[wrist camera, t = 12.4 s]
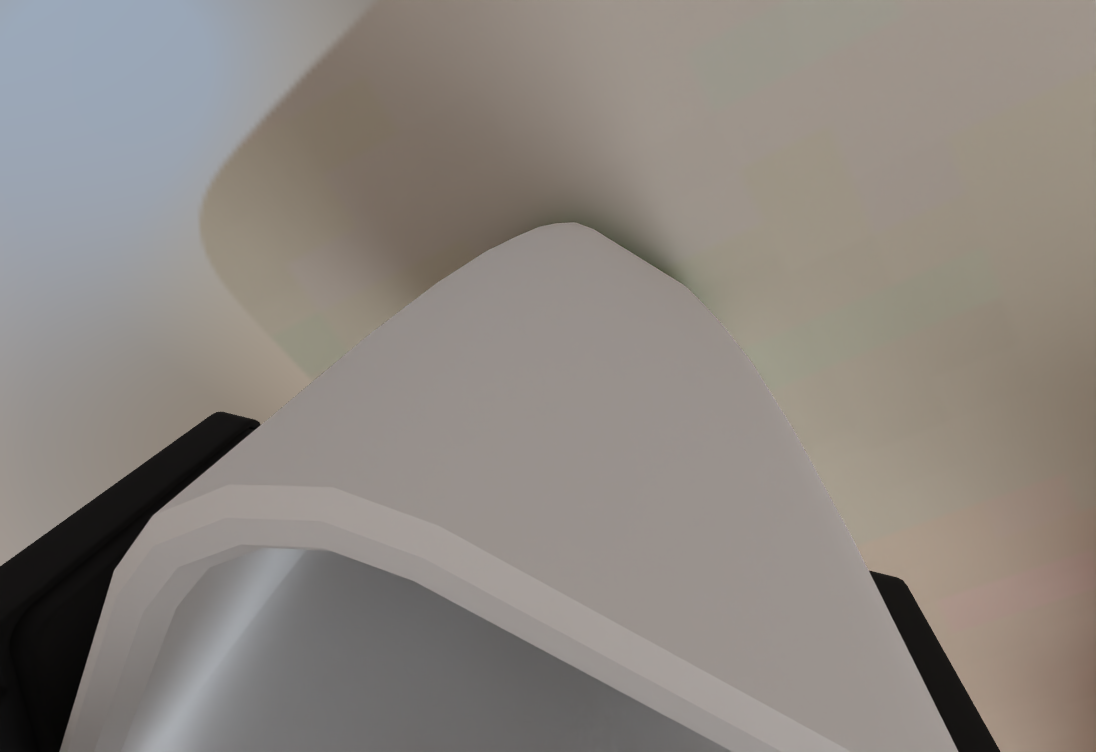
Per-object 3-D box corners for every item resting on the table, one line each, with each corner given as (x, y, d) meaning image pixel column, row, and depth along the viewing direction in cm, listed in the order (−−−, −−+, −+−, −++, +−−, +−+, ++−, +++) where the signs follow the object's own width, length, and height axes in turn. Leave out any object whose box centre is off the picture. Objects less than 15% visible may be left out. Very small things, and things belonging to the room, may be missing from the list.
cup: (622, 470, 20) (590, 1165, 7) (436, 363, 20) (4, 906, 6) (758, 297, 17) (1165, 940, 4) (544, 162, 17) (154, 390, 3)
